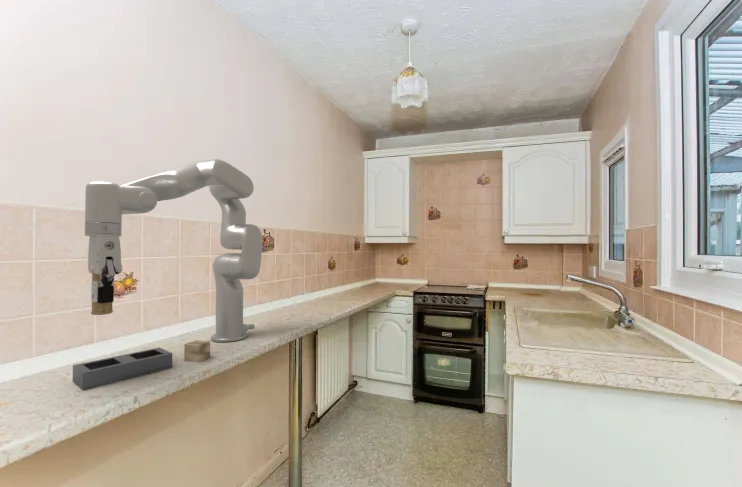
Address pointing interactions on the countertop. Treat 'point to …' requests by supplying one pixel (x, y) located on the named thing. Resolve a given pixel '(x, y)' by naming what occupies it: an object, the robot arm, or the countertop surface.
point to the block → (197, 351)
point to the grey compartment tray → (120, 367)
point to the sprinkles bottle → (97, 307)
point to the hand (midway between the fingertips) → (102, 300)
